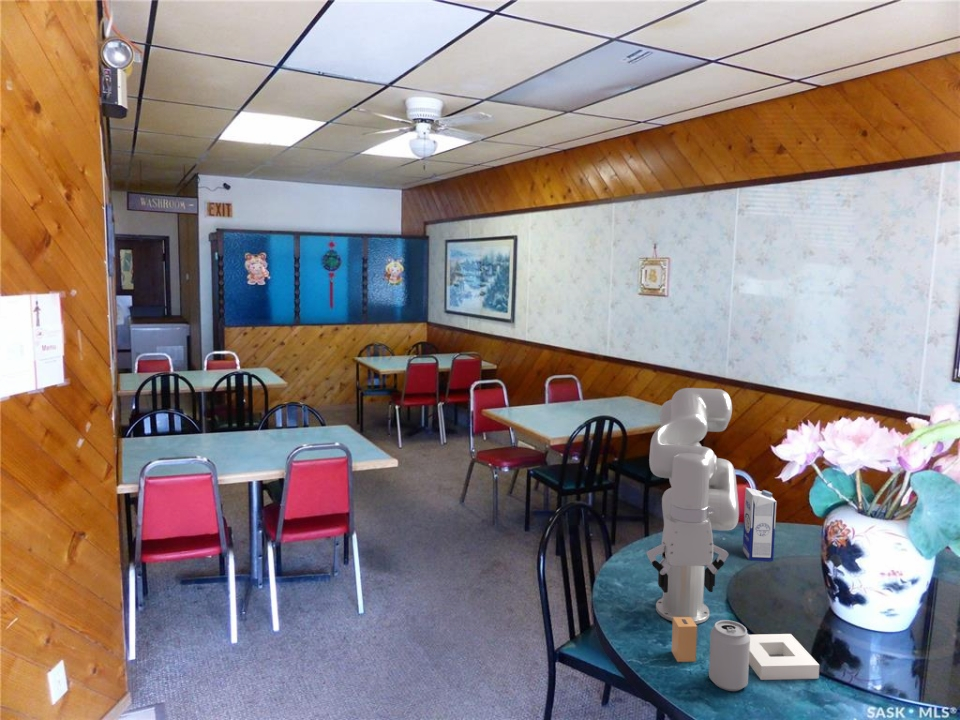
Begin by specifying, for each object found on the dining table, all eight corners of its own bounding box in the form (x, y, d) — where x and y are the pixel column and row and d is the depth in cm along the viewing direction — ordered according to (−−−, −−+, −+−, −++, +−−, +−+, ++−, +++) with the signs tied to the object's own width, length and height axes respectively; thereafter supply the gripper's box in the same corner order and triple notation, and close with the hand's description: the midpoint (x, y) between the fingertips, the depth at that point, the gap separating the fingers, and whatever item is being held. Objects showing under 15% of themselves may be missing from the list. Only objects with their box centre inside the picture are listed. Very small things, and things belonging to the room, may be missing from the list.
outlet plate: (736, 647, 149) (737, 634, 148) (790, 646, 149) (790, 633, 149) (760, 679, 137) (761, 666, 136) (818, 678, 137) (819, 665, 137)
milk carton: (742, 550, 201) (745, 486, 198) (765, 551, 200) (768, 487, 198) (749, 560, 194) (752, 494, 191) (773, 561, 193) (777, 494, 191)
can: (738, 671, 140) (741, 617, 138) (754, 693, 132) (757, 636, 131) (703, 671, 140) (705, 617, 138) (717, 694, 132) (719, 637, 131)
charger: (671, 651, 147) (672, 616, 146) (689, 651, 147) (690, 616, 146) (677, 661, 143) (678, 626, 142) (695, 661, 143) (697, 625, 142)
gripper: (722, 506, 145) (719, 581, 147) (643, 507, 145) (641, 582, 147) (736, 518, 138) (733, 597, 140) (653, 519, 137) (651, 598, 139)
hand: (686, 589), depth 143 cm, fingers open, 9 cm apart
